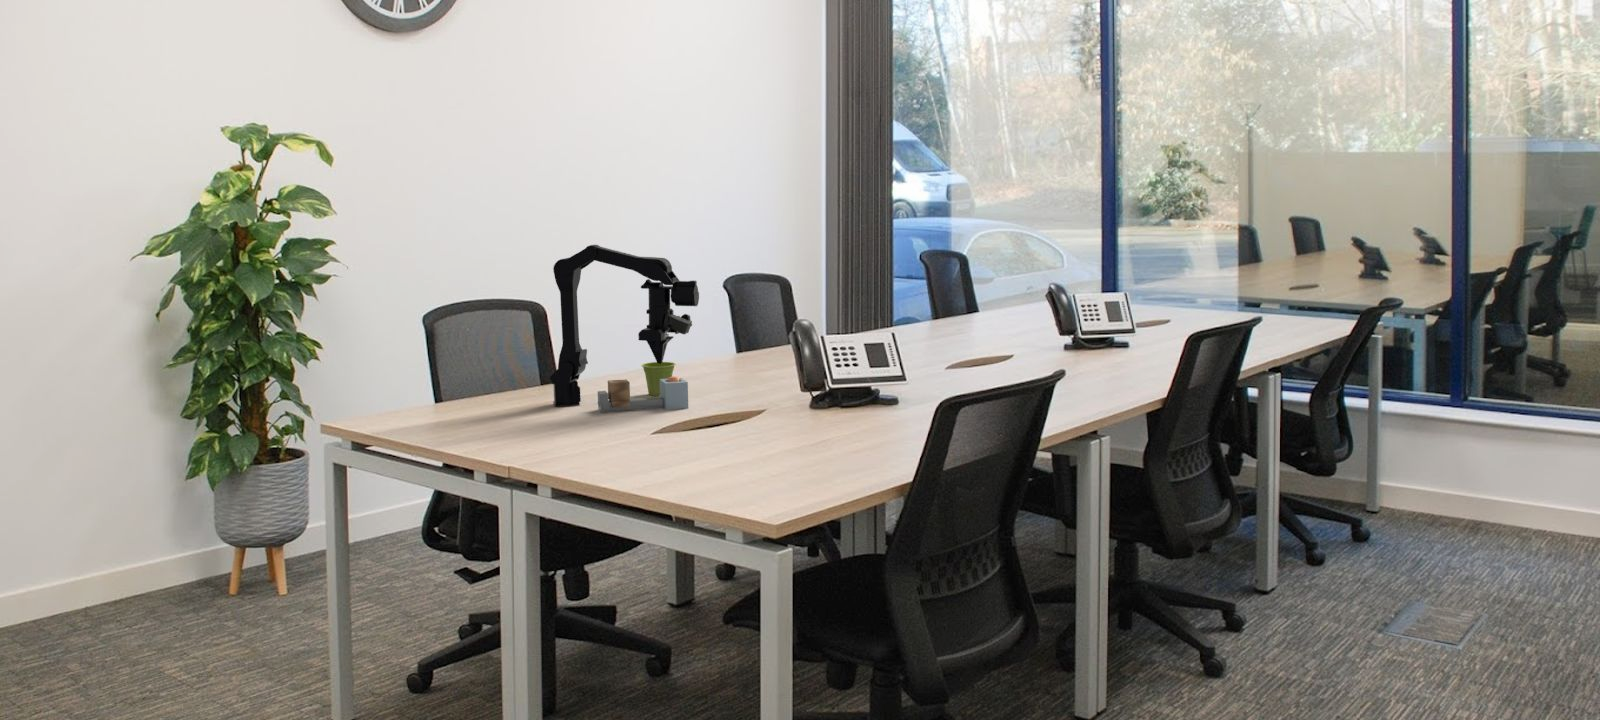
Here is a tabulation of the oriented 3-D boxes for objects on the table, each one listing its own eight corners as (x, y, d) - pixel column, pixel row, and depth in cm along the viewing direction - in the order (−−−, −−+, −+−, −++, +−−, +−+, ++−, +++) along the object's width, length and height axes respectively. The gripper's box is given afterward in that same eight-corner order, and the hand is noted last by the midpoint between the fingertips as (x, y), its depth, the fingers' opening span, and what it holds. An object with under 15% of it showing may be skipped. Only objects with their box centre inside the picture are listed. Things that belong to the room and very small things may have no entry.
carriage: (611, 407, 360) (610, 383, 359) (608, 404, 365) (607, 380, 364) (630, 406, 361) (629, 382, 360) (627, 403, 366) (626, 379, 365)
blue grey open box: (666, 409, 363) (665, 383, 362) (660, 404, 370) (659, 379, 369) (688, 408, 364) (687, 382, 363) (682, 403, 372) (681, 377, 371)
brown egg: (669, 391, 365) (669, 378, 364) (667, 390, 368) (666, 376, 367) (680, 391, 366) (680, 377, 365) (678, 389, 369) (677, 376, 368)
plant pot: (674, 397, 383) (673, 366, 381) (640, 397, 383) (639, 366, 382) (678, 391, 392) (677, 361, 391) (645, 392, 392) (644, 362, 391)
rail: (601, 412, 359) (600, 394, 359) (598, 409, 364) (597, 391, 363) (668, 408, 364) (668, 389, 364) (665, 405, 369) (664, 387, 368)
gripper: (678, 310, 355) (679, 369, 357) (697, 302, 373) (698, 359, 375) (637, 308, 357) (638, 368, 359) (658, 301, 375) (658, 358, 377)
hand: (659, 363), depth 368 cm, fingers closed
